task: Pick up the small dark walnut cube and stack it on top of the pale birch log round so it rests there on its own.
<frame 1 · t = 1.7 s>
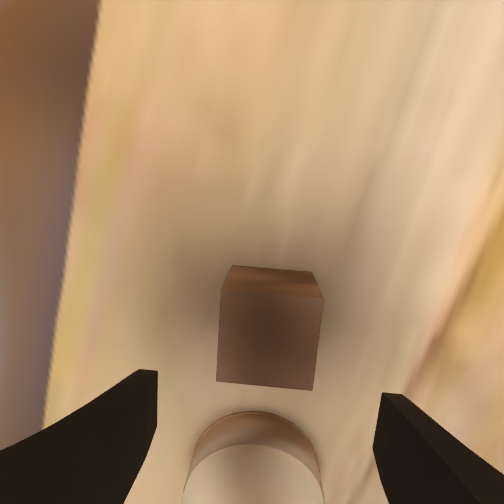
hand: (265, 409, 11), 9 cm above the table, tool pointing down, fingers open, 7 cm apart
walnut cube: (268, 305, 20), on the table
birch round: (255, 463, 22), on the table
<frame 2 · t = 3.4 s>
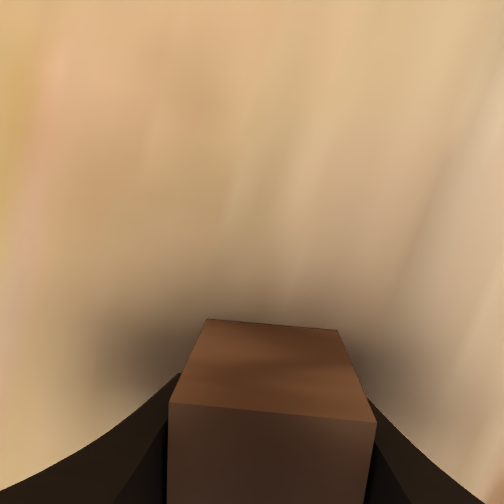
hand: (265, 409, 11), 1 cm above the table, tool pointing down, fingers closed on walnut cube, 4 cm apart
walnut cube: (266, 382, 12), on the table, touching gripper
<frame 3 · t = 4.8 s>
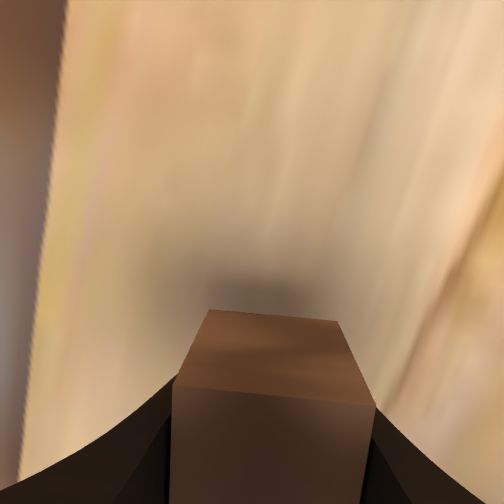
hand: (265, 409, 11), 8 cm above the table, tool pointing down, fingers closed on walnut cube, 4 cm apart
walnut cube: (267, 373, 12), point 7 cm above the table, touching gripper
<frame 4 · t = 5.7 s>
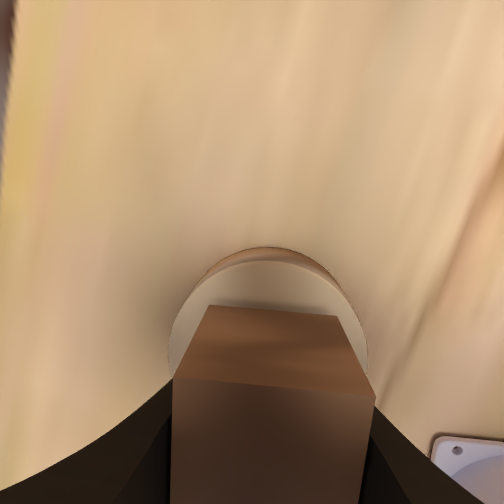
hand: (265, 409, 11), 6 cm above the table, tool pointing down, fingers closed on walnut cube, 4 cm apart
walnut cube: (267, 368, 12), point 4 cm above the table, touching gripper
birch round: (267, 324, 17), on the table
when the fingers open (6 cm above the table, at t = 6.5 s): walnut cube drops 1 cm, resting on birch round.
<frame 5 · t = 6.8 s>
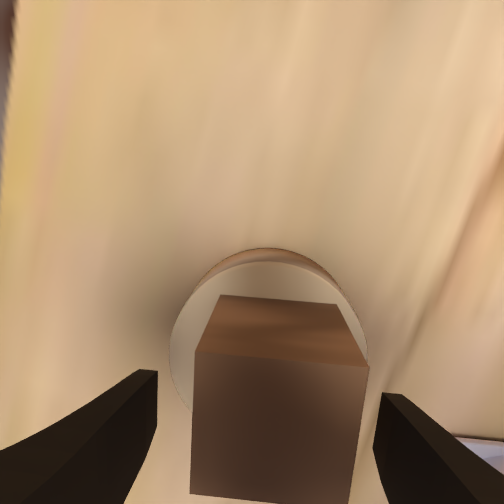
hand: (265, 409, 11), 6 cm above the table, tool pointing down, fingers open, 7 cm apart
walnut cube: (273, 352, 14), point 3 cm above the table, touching birch round
birch round: (267, 325, 17), on the table, touching walnut cube
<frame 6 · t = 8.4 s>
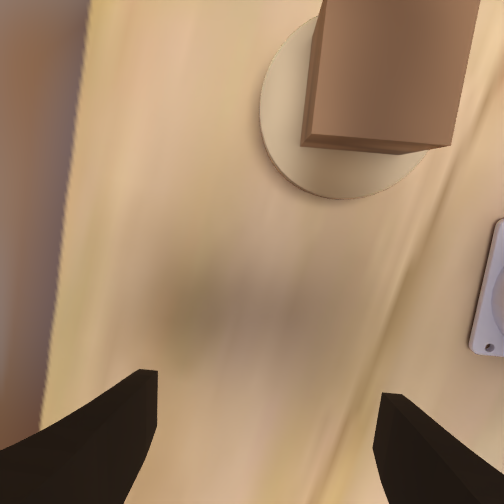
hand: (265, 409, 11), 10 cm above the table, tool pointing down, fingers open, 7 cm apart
walnut cube: (356, 98, 15), point 3 cm above the table, touching birch round
birch round: (335, 121, 18), on the table, touching walnut cube
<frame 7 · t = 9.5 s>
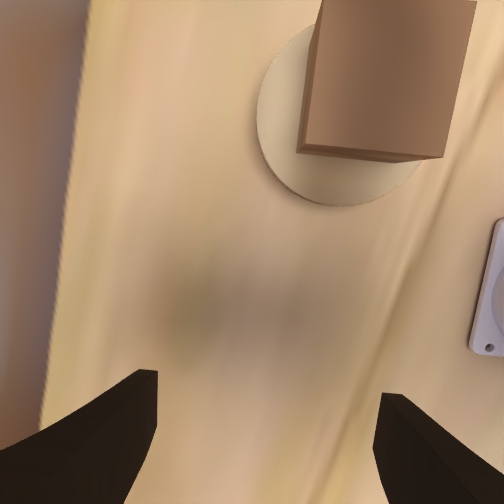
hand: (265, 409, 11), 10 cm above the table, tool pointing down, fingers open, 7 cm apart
walnut cube: (353, 106, 15), point 3 cm above the table, touching birch round
birch round: (332, 127, 19), on the table, touching walnut cube
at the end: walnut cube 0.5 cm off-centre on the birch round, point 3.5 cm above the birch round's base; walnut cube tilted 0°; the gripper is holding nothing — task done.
